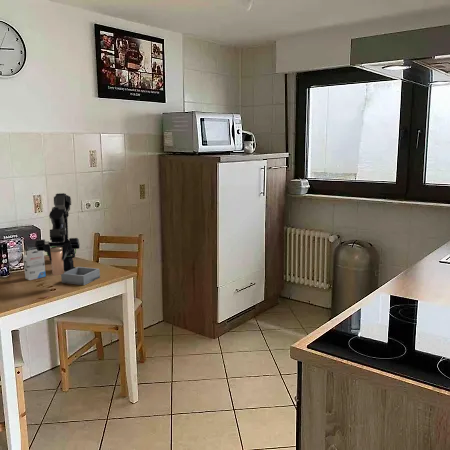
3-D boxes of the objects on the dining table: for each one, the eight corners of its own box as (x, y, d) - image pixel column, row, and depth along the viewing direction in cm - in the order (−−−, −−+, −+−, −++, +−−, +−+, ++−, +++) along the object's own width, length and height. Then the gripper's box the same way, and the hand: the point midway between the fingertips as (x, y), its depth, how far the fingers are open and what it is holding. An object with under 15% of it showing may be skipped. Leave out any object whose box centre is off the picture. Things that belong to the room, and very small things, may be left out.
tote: (61, 282, 215) (61, 273, 215) (78, 275, 227) (78, 266, 226) (84, 285, 211) (83, 276, 210) (100, 277, 223) (99, 268, 222)
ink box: (41, 274, 229) (39, 246, 226) (46, 276, 226) (43, 247, 223) (24, 278, 223) (21, 249, 220) (28, 280, 220) (26, 251, 217)
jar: (49, 274, 205) (47, 248, 203) (57, 271, 210) (55, 246, 208) (59, 275, 204) (57, 249, 201) (66, 272, 208) (64, 246, 206)
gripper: (33, 222, 204) (30, 252, 196) (77, 220, 208) (75, 249, 199) (38, 236, 213) (36, 264, 205) (80, 233, 217) (79, 262, 208)
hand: (56, 260), depth 204 cm, fingers closed on jar, 5 cm apart
